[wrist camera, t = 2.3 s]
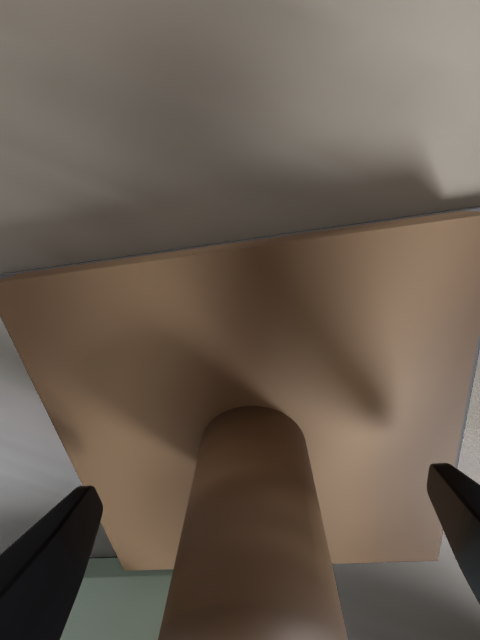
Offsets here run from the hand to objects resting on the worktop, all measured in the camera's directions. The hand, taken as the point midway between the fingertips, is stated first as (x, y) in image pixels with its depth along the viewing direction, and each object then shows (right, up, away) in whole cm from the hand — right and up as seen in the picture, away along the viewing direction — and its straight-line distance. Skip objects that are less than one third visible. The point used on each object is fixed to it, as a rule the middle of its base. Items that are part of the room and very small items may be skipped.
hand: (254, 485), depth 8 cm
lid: (0, +1, +2) cm, 2 cm away
